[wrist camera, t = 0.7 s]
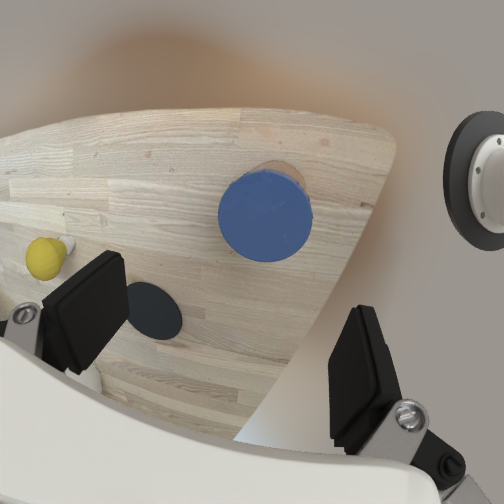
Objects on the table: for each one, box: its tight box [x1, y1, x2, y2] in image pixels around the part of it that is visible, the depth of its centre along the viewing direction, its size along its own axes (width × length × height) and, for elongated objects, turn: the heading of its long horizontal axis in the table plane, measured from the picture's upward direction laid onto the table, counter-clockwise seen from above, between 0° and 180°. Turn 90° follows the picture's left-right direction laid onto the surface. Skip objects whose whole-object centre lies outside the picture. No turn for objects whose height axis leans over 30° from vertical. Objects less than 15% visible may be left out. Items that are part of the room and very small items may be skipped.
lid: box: [218, 168, 313, 262], centre depth 21 cm, size 7×7×2 cm
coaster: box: [127, 282, 182, 340], centre depth 40 cm, size 11×11×1 cm
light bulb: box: [26, 236, 75, 281], centre depth 34 cm, size 7×7×10 cm
